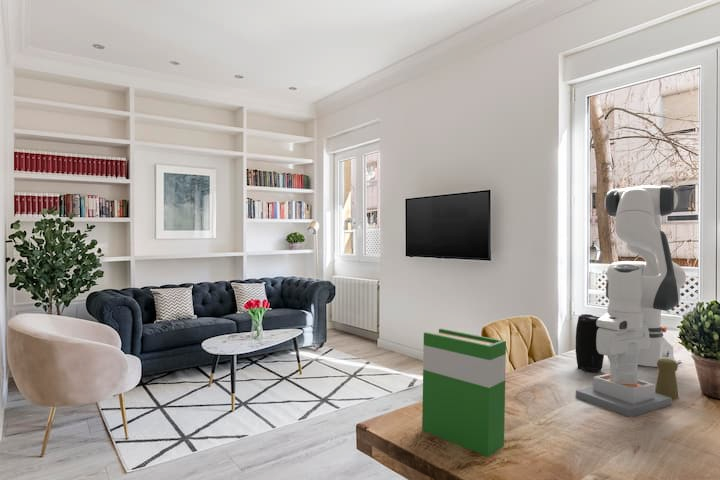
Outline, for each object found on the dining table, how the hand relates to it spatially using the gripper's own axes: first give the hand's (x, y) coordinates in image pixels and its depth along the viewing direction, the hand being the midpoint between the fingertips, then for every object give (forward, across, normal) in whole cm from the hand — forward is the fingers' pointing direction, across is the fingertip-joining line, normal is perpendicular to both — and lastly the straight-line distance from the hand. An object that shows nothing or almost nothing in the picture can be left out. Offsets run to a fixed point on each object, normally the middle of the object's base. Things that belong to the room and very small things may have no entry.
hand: (623, 367), depth 129 cm
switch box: (+10, 0, 0) cm, 10 cm away
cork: (+10, -17, +3) cm, 20 cm away
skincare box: (+5, 0, 0) cm, 5 cm away
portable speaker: (+10, -19, -24) cm, 32 cm away
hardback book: (+10, +59, -2) cm, 60 cm away
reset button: (+7, 0, 0) cm, 7 cm away
